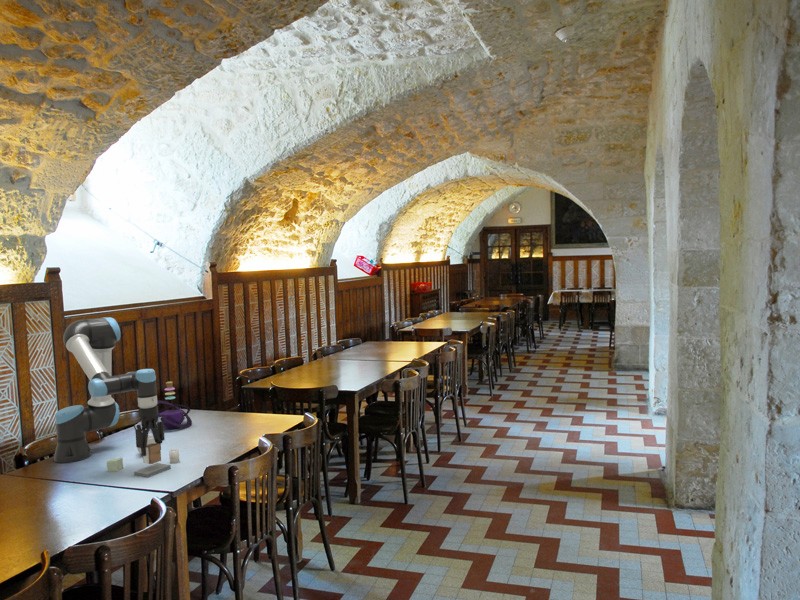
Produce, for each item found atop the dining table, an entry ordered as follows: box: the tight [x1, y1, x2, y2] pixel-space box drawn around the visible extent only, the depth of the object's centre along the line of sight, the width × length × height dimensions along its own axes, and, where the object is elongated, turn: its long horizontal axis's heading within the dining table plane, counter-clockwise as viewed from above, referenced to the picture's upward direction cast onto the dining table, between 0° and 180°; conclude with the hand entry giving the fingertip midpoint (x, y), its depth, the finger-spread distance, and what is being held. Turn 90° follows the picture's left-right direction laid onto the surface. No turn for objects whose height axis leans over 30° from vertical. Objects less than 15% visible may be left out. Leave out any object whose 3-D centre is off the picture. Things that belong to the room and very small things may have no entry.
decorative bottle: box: [157, 380, 193, 430], centre depth 331 cm, size 22×21×25 cm
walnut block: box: [147, 443, 162, 465], centre depth 259 cm, size 5×5×7 cm
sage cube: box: [106, 457, 124, 473], centre depth 265 cm, size 4×4×4 cm
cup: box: [136, 434, 155, 454], centre depth 285 cm, size 11×8×8 cm
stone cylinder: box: [168, 449, 180, 465], centre depth 272 cm, size 4×4×5 cm
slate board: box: [133, 462, 172, 479], centre depth 260 cm, size 8×12×2 cm, turn 152°
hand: (152, 460), depth 260 cm, fingers closed on walnut block, 5 cm apart
